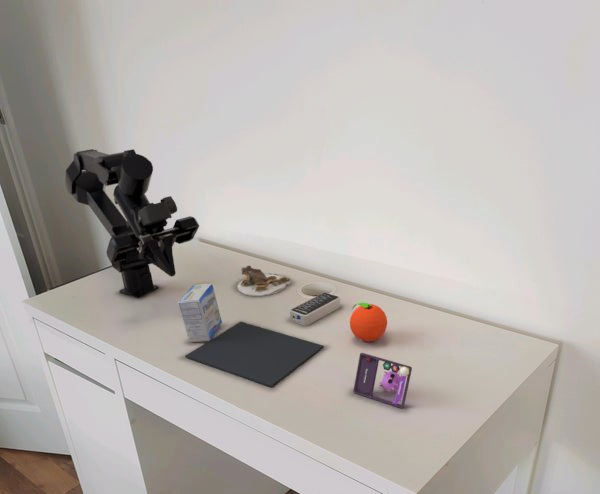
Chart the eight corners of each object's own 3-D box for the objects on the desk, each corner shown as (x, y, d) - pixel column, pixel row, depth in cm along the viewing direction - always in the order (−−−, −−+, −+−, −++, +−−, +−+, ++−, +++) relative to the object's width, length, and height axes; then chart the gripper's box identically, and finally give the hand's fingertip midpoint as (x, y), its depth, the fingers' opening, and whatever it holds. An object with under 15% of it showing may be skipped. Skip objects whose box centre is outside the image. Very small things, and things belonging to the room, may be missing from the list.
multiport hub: (340, 307, 128) (340, 296, 127) (305, 326, 121) (305, 315, 120) (324, 301, 131) (324, 291, 129) (289, 320, 124) (288, 310, 123)
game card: (357, 353, 98) (409, 368, 93) (373, 349, 102) (422, 363, 98) (350, 393, 100) (400, 409, 95) (365, 387, 104) (414, 403, 100)
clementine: (338, 336, 117) (337, 302, 113) (365, 325, 121) (365, 291, 117) (367, 352, 112) (367, 316, 108) (394, 339, 115) (395, 305, 111)
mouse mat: (185, 357, 113) (185, 355, 113) (240, 323, 124) (240, 321, 124) (271, 387, 103) (271, 385, 103) (323, 347, 114) (323, 345, 114)
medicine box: (210, 342, 117) (199, 300, 112) (188, 343, 118) (177, 301, 114) (222, 323, 123) (213, 283, 119) (202, 324, 124) (191, 284, 120)
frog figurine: (225, 291, 138) (223, 274, 136) (256, 272, 146) (254, 256, 144) (267, 300, 133) (266, 283, 131) (297, 280, 141) (296, 264, 139)
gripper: (99, 195, 112) (138, 268, 110) (187, 175, 122) (225, 242, 120) (91, 228, 121) (127, 296, 120) (173, 207, 131) (208, 269, 130)
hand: (173, 275), depth 122 cm, fingers closed
